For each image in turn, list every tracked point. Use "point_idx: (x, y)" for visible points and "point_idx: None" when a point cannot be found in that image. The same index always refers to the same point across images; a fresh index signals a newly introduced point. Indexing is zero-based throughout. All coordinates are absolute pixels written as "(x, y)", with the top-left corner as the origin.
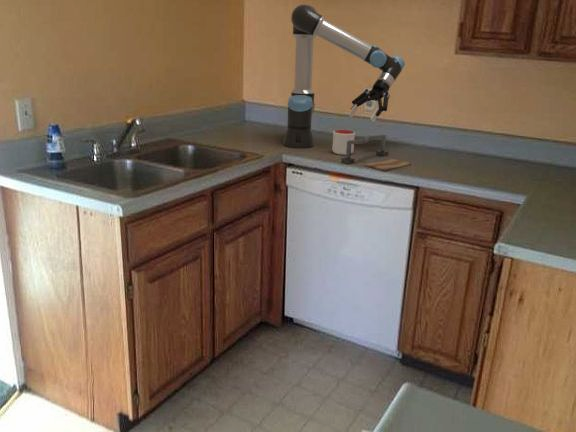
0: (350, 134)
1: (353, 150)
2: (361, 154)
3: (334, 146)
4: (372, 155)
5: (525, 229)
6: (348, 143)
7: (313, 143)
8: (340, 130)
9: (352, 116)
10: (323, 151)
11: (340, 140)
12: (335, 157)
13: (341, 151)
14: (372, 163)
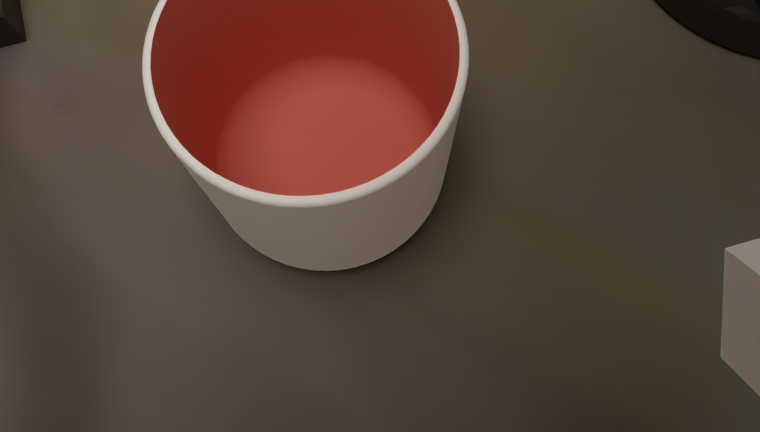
0: (144, 65)
1: (250, 245)
2: (192, 324)
3: (315, 23)
4: (102, 424)
5: None
6: None
7: (696, 11)
8: (456, 78)
9: (752, 381)
10: None
11: (225, 1)
12: None
13: (238, 83)
14: None
